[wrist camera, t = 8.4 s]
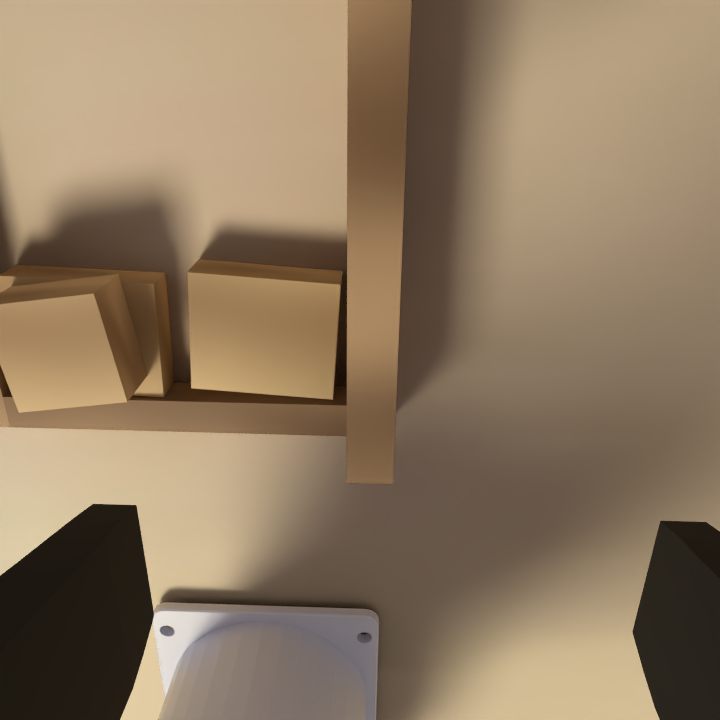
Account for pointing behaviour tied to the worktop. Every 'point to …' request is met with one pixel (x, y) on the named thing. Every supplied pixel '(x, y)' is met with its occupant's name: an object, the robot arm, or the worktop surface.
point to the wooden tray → (364, 285)
